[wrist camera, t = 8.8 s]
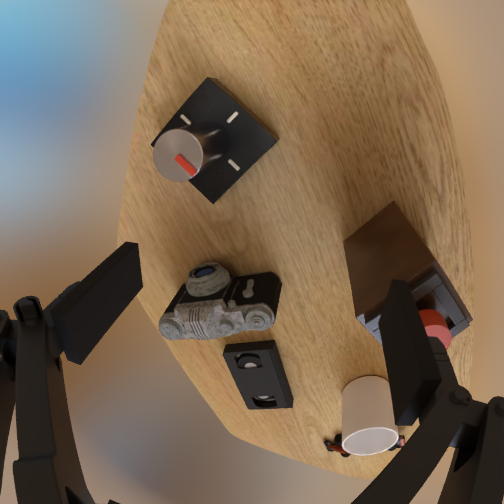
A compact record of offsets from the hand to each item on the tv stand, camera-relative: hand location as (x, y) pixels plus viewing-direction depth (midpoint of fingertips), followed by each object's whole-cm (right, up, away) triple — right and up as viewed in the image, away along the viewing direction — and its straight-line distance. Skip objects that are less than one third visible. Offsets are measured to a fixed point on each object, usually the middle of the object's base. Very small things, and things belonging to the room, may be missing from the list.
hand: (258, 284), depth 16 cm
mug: (+20, -23, +33) cm, 45 cm away
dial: (-5, +13, +17) cm, 22 cm away
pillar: (+16, +2, +21) cm, 27 cm away
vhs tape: (+1, -18, +35) cm, 39 cm away
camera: (-4, -2, +28) cm, 28 cm away
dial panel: (-4, +14, +19) cm, 25 cm away
